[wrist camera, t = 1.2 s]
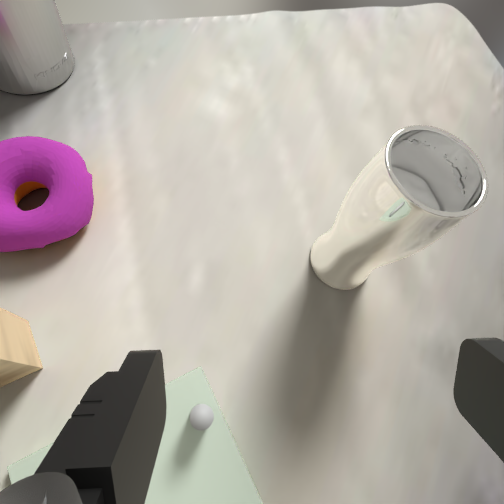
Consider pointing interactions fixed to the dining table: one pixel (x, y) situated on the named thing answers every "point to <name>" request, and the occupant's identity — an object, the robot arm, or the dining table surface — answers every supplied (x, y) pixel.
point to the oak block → (16, 348)
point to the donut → (42, 176)
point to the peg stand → (186, 451)
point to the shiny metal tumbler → (400, 204)
